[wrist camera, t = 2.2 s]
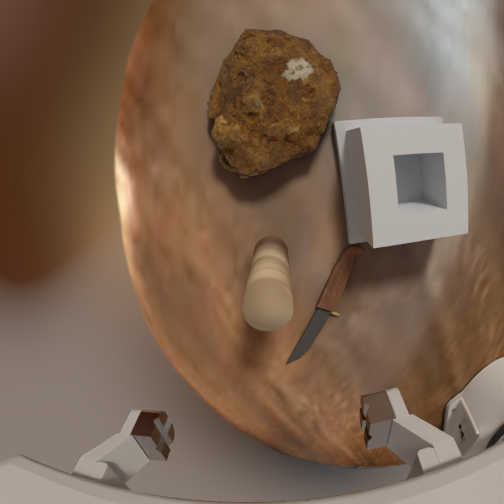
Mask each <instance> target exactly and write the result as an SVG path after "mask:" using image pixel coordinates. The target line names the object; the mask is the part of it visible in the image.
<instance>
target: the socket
mask: <svg viewBox="0 0 504 504" xmlns="http://www.w3.org/2000/svg"><path fill="white" fill-rule="evenodd" d="M332 124H333V130H334V136H335V142H336V148H337V155H338V161H339V168H340V175H341V183H342V190H343V199H344V207H345V216H346V226H347V237H348V242H349V243H350V244H354V243H361V242H368V243H369V244H370V245H371V246H372V247H373V248H379V247H386V246H392V245H398V244H405V243H411V242H417V241H423V240H429V239H436V238H442V237H448V236H454V235H460V234H466V233H468V188H467V171H466V158H465V148H464V140H463V132H462V125H461V124H443V120H442V117H395V118H375V119H360V120H348V121H337V122H333V123H332Z"/></svg>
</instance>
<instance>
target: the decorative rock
mask: <svg viewBox="0 0 504 504" xmlns="http://www.w3.org/2000/svg"><path fill="white" fill-rule="evenodd" d="M340 90H341V87H340V83H339V80H338V76H337V72H336V71H335V70H334V67H333V64H332V62H331V60H330V59H327V58H325V57H324V56H322V55H321V54H320V53H319V52H318V51H317V50H316V49H315V47H314V46H313V44H311V43H310V41H309V40H306V39H302V38H299V37H295V36H292V35H289V34H287V33H285V32H284V31H281V30H269V31H266V30H257V29H246V30H245V31H244V32H243V33H242V34H241V36H240V38H239V39H238V41H237V43H236V44H235V46H234V48H233V50H232V51H231V53H230V54H229V55H228V56H227V57H226V58H225V59H224V60H223V64H222V67H221V70H220V72H219V75H218V78H217V80H216V83H215V85H214V87H213V89H212V91H211V94H210V100H209V101H208V103H207V104H208V110H207V115H208V118H210V119H212V120H214V121H215V123H214V127H213V129H212V131H211V134H212V138H213V141H214V142H215V143H216V144H217V150H216V153H217V155H218V158H219V163H222V165H223V166H224V168H225V169H226V170H228V171H230V172H237V174H238V175H239V176H240V177H241V178H242V179H247V178H249V177H251V176H254V175H259V174H264V173H266V172H267V171H268V170H269V169H270V168H275V167H277V166H279V165H283V164H285V163H286V162H288V161H289V160H291V159H293V158H299V157H301V156H302V155H304V154H307V153H311V152H314V151H315V150H316V149H317V146H318V143H319V140H320V136H321V135H322V134H323V133H324V131H325V128H326V125H327V123H328V121H329V118H330V114H331V113H332V112H333V111H334V109H335V107H336V104H337V100H338V96H339V92H340ZM219 163H218V164H219Z"/></svg>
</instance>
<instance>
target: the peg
mask: <svg viewBox="0 0 504 504" xmlns="http://www.w3.org/2000/svg"><path fill="white" fill-rule="evenodd" d="M242 313H243V316H244V318H245V320H246V321H247V323H248V324H249V325H251V326H252V327H254V328H255V329H258V330H261V331H275V330H278V329H280V328H282V327H284V326H285V325H286V324H287V323H288V322H289V321H290V319H291V318H292V315H293V298H292V288H291V278H290V269H289V259H288V250H287V247H286V245H285V243H284V242H283V241H282V240H281V239H279V238H277V237H273V236H269V237H265V238H263V239H261V240H260V241H259V242H258V243H257V244H256V246H255V250H254V254H253V259H252V263H251V268H250V272H249V277H248V281H247V286H246V290H245V295H244V299H243V304H242Z"/></svg>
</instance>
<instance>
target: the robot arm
mask: <svg viewBox="0 0 504 504" xmlns="http://www.w3.org/2000/svg"><path fill="white" fill-rule="evenodd" d="M360 403H361V408H360V424H361V429H362V430H363V431H364V441H365V445H366V449H367V450H370V449H375V448H380V447H384V446H387V447H388V448H389V449H390V450H391V451H392V452H393V453H395V454H396V455H397V456H398V457H399V458H401V459H402V460H403V461H404V462H405V463H406V464H408V465H409V466H410V467H411V470H410V472H409V475H408V477H407V479H406V480H404V481H400V482H396V483H393V484H389V485H385V486H381V487H377V488H372V489H368V490H364V491H358V492H353V493H348V494H342V495H336V496H329V497H322V498H314V499H305V500H294V501H279V502H216V501H201V500H190V499H181V498H173V497H166V496H159V495H153V494H147V493H142V492H137V491H132V490H130V489H129V488H128V487H127V486H126V484H125V483H126V482H127V481H128V480H129V479H130V478H131V477H132V476H133V475H134V474H136V473H137V472H138V471H139V470H140V469H141V468H142V467H143V466H144V465H145V464H146V463H147V462H148V461H149V459H151V460H162V461H167V458H168V455H169V452H170V448H169V445H170V444H171V443H172V442H173V440H174V428H173V425H172V424H171V422H169V421H168V420H167V418H168V416H167V414H166V413H165V412H164V411H154V410H141V409H133V410H132V411H131V412H130V414H129V416H128V418H127V420H126V422H125V424H124V426H123V428H122V430H121V432H120V434H118V433H117V434H115V435H114V436H112V437H111V438H109V439H108V440H106V441H105V442H103V443H102V444H100V445H99V446H97V447H96V448H94V449H92V450H91V451H89V452H88V453H86V454H84V455H83V456H81V458H80V460H79V462H78V464H77V466H76V468H75V469H74V471H73V473H72V474H69V473H67V472H64V471H61V470H58V469H55V468H53V467H50V466H48V465H45V464H42V463H40V462H38V461H35V460H33V459H31V458H28V457H26V456H24V455H20V454H19V455H15V456H12V457H9V458H7V459H5V460H3V461H1V462H0V504H504V357H502V358H499V359H497V360H496V361H494V362H492V363H491V364H489V365H488V366H486V367H485V368H484V369H483V370H482V371H480V372H479V373H478V374H477V375H476V376H475V377H474V378H473V379H472V380H471V381H470V382H469V384H468V385H467V386H466V387H465V388H464V389H463V391H462V392H460V393H459V394H458V395H456V396H455V397H454V398H453V399H451V400H450V401H449V402H448V403H447V405H446V411H445V421H444V429H443V431H441V430H439V429H437V428H435V427H434V426H432V425H430V424H429V423H427V422H425V421H423V420H422V419H420V418H418V417H417V416H415V415H413V414H411V415H409V413H408V411H407V408H406V406H405V404H404V401H403V399H402V397H401V394H400V392H399V390H398V388H393V389H389V390H385V391H380V392H376V393H371V394H367V395H362V396H361V399H360ZM462 457H464V458H465V459H463V458H462Z"/></svg>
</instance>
